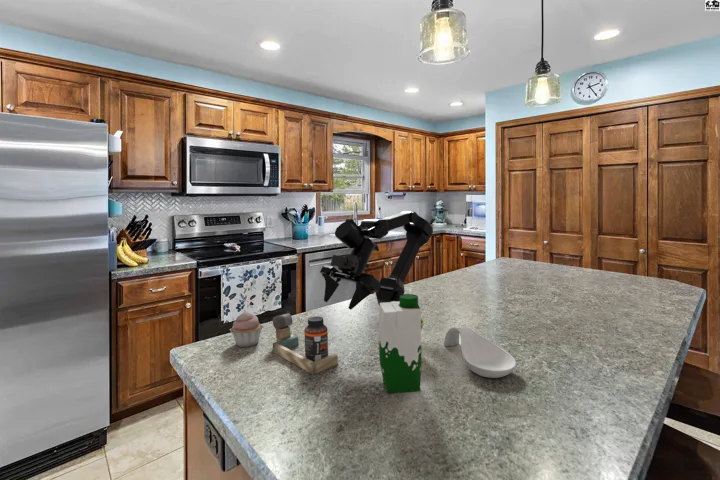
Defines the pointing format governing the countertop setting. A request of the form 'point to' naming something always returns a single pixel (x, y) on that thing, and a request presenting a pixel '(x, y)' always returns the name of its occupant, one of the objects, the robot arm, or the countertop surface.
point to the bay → (299, 360)
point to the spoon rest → (481, 353)
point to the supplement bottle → (316, 339)
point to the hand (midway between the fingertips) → (337, 305)
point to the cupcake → (246, 329)
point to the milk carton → (400, 344)
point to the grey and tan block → (282, 326)
